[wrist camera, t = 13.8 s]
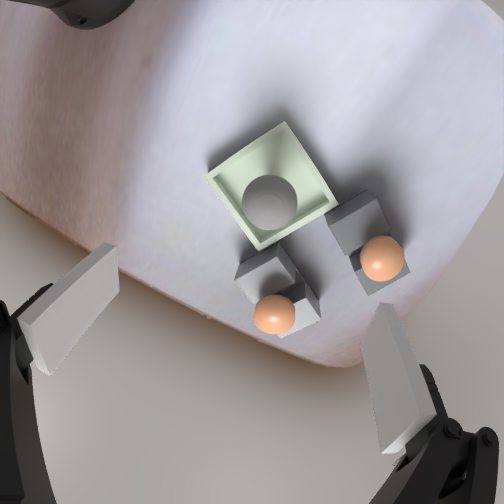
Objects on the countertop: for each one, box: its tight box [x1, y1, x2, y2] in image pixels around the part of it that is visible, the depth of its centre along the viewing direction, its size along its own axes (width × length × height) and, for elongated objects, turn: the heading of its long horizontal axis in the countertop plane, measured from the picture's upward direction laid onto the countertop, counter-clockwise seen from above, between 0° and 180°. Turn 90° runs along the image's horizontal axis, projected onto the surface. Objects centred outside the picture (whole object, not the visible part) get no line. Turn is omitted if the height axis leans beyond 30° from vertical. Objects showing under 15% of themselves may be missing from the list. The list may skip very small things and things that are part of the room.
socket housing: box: [234, 190, 410, 338], centre depth 37 cm, size 11×20×4 cm, turn 125°
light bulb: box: [242, 175, 298, 230], centre depth 31 cm, size 5×5×10 cm
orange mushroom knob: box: [360, 235, 405, 281], centre depth 32 cm, size 5×5×6 cm
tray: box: [203, 121, 339, 252], centre depth 35 cm, size 12×12×2 cm
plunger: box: [254, 291, 295, 334], centre depth 37 cm, size 5×5×6 cm
